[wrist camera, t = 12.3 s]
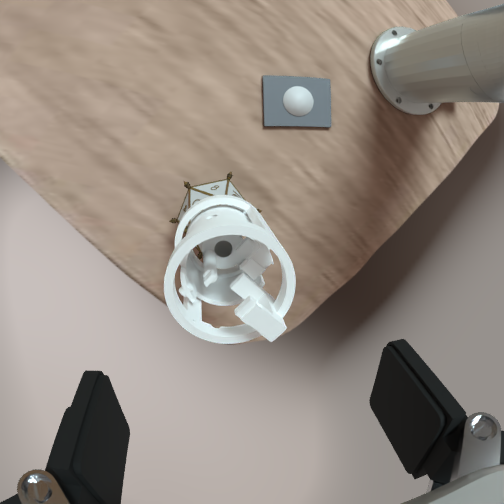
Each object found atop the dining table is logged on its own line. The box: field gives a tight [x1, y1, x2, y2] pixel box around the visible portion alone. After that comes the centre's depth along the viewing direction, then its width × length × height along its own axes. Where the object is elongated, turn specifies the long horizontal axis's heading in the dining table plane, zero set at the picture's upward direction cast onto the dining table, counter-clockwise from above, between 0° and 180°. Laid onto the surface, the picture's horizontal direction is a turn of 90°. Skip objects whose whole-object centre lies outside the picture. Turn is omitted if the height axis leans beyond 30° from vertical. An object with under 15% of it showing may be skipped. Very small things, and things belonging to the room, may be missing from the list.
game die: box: [169, 172, 261, 260], centre depth 34 cm, size 9×8×10 cm
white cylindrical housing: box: [164, 195, 296, 344], centre depth 23 cm, size 7×7×15 cm
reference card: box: [263, 76, 331, 127], centre depth 34 cm, size 8×6×1 cm
